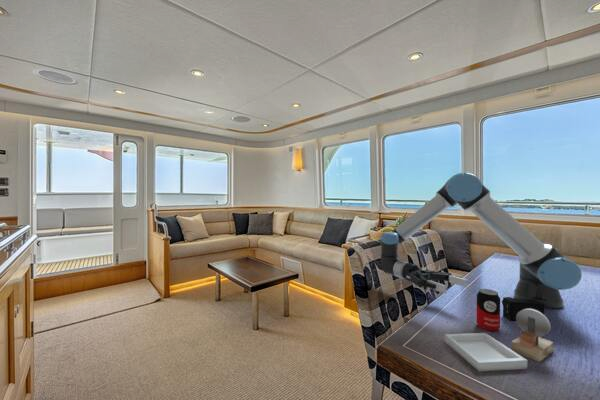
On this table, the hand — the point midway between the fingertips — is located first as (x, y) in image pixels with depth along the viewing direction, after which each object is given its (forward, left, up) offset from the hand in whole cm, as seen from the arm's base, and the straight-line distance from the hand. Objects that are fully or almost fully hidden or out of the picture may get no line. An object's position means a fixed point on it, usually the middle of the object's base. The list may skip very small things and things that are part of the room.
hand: (456, 286), depth 93 cm
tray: (+9, +23, -11) cm, 26 cm away
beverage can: (-4, +9, -11) cm, 15 cm away
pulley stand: (-6, +22, -11) cm, 25 cm away
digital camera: (-21, +4, -11) cm, 24 cm away
